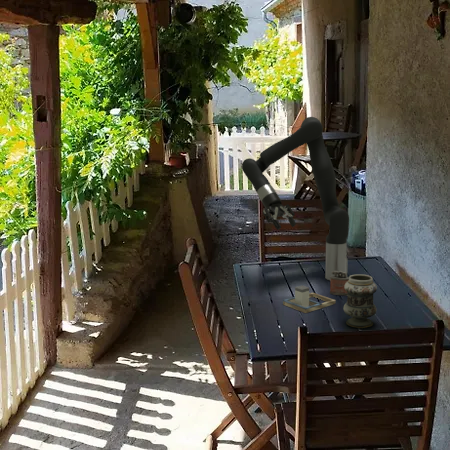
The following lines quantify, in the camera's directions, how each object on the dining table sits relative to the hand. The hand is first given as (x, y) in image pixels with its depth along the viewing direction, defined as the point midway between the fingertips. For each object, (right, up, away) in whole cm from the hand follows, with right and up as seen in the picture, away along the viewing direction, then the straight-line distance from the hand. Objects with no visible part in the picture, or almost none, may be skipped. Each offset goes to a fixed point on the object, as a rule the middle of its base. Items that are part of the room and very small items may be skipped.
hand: (287, 227), depth 267 cm
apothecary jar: (+24, -36, -31) cm, 53 cm away
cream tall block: (+5, -32, -12) cm, 35 cm away
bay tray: (+8, -31, -10) cm, 34 cm away
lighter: (+23, -29, +2) cm, 37 cm away
